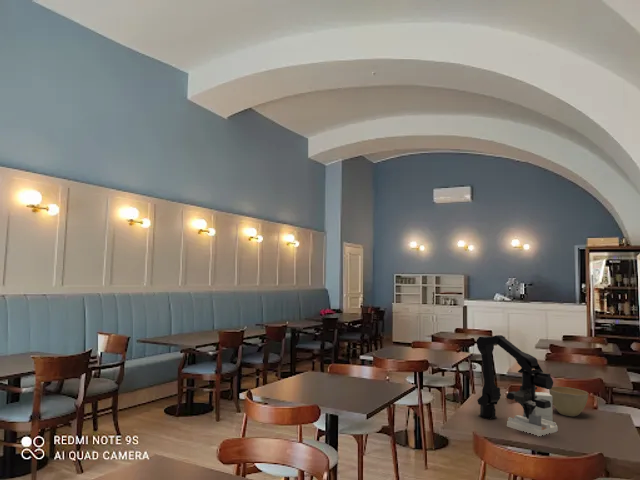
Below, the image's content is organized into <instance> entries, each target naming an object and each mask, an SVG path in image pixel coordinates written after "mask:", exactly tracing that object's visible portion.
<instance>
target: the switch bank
mask: <svg viewBox="0 0 640 480" xmlns="http://www.w3.org/2000/svg"><path fill="white" fill-rule="evenodd" d="M507 418H508V419H507V421H506V427H508V428H511V429H514V430H518V431H520V432H523V431H524V432H523V433H526V432H527V434H529V433H531V434H530V435H532V434H534V435H533V436H535V435H537V436H536V437H539V436H540V437H543V436H547V435H549V433H550V434H553V433H557V432H558V428H559V427H558V425H557V422H555V421H552V422H551V421H548V420H544V419H541V426H538V425H534V424H531V423H529V419H527V418H526V417H524V413H523V414H522V415H520V414H517V415H514V417H510V416H509V417H507ZM546 434H547V435H546ZM542 435H543V436H542Z"/></svg>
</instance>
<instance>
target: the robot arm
mask: <svg viewBox="0 0 640 480" xmlns="http://www.w3.org/2000/svg"><path fill="white" fill-rule="evenodd" d="M475 341H476V343H475V344H476V346H477V350H478V352H479V353H480V356H481V361H482V362H481V364H482V370H483V371H482V372H483V373H482V374H483V382H484V383H483V384H484V385H483V387H482V389H481V395H480V397H479V398H478V399H477V404H478V405H479V406H480V411H479V412H480V414H478V417H480V418H483V419H487V420H492V419H496V418H497V415H496V412H497V411H496V405H498V402H499V401H500V399H501V396H502V394H501V388H500V386H499V387H498V386H497V385H496V383H495V381H496V380H495V374H494V365H493V363H494V362H493V357H492V356H493V352H494V348H495V345H498V346H499V347H501V348H502V349H503V350H504V351H505V352H506V353H508V354H509V355H510V356H511V357H513V358H514V359H515V360H516V363H517V365H518V366H520V369H519V370H517V373H519V374H521V385H520V387H519V390H517V391H509V392H508V393H507V394H506V398H507V400H511V401H513V400H514V401H515V402H516V403H518V404H519V405H520V406H521V407H522V409H523V413H524V412H525V415H526V418H527V419H529V414H532V412H533V410H534V409H535V407H536V406H537V407H539V408H543V409H545V408H550V407H551V403H550V401H548V400H544V399H540V400H536V398H537V396H535V392H536V390H538V388H542V389H545V390H548V391H549V390H550V389H551V388H552V387H554V386H553V385H554V381H553V378H552V376H551V373H549V372H547V373H546V372H544V371H543V369H542V368H541V365H540V364H539V362H538V359H537V358H536V357H535V356H533V355H531V354H529V353H527V352H524V351H523V350H520V349H519V348H518V347H517V346H515V344H513V343H512V342H511V341H510V340H508V339H506V338H505V336H503V335H500V334H499V335H494V336H489V335H488V336H485V335H484V336H479V337H478V338H476V340H475Z"/></svg>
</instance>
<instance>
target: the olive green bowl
mask: <svg viewBox="0 0 640 480" xmlns="http://www.w3.org/2000/svg"><path fill="white" fill-rule="evenodd" d="M548 393H549V394H550V395H551V396H552V405H553V406H554V408H555V409H556V411H557V412H558V413H559V414H560V415H563V416H567V417H577V416H579V415H580V414H581V413H582V412H583V411H584V409H585V407H586V405H587V402H588V400H589V392H588V391H586V390H582V389H578V388H572V387H567V386H552V388H551V389H550V390H549V389H548Z"/></svg>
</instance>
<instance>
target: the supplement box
mask: <svg viewBox="0 0 640 480" xmlns="http://www.w3.org/2000/svg"><path fill="white" fill-rule="evenodd" d="M535 396H537V398H536V400H540V399H544V400H548V401H550V403H551V407H550V408H545V409H543V408H539V407H537V406H536V407H535V409H534V410H535V414H536V415H540V416H541V419H544V420H548V421H551V422H554V421H553V402H552V396H551V395H550V392H541V391H540V392H538V391H535Z"/></svg>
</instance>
